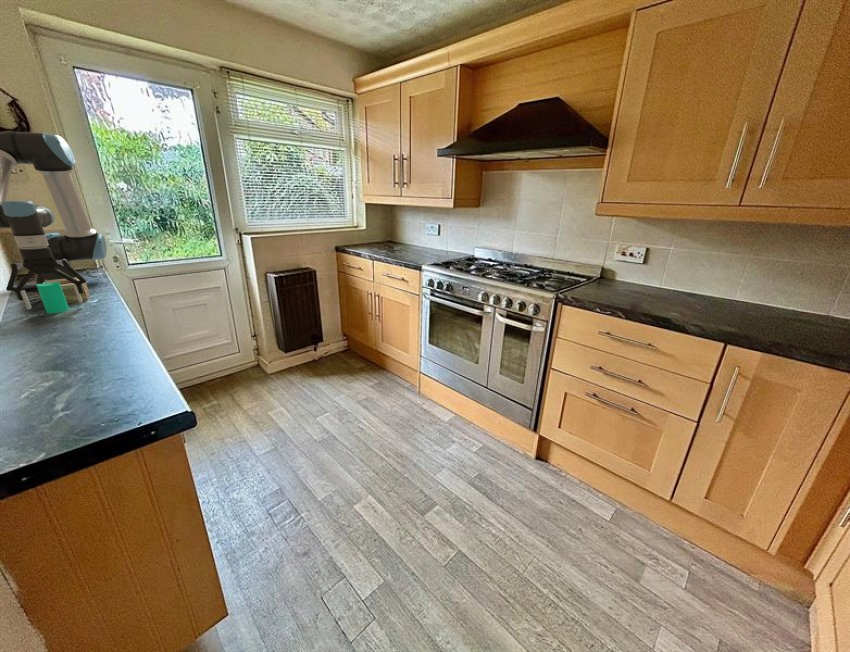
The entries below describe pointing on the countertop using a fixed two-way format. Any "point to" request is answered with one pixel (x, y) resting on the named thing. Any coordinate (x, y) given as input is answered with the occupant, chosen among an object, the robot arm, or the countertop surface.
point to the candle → (53, 297)
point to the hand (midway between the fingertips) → (56, 305)
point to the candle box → (71, 290)
